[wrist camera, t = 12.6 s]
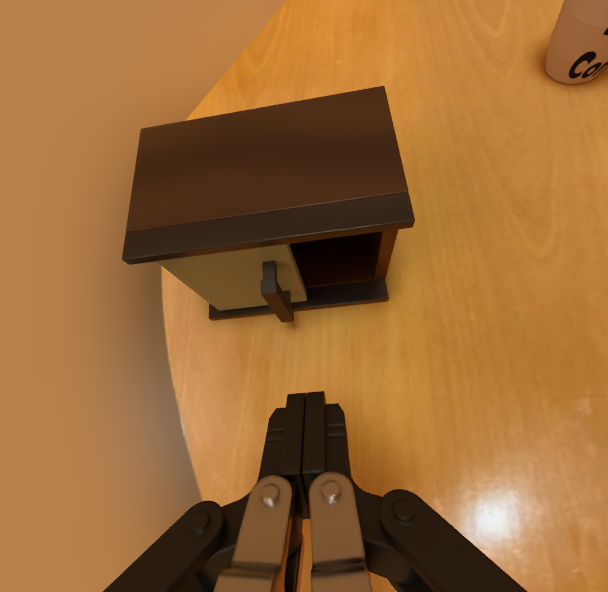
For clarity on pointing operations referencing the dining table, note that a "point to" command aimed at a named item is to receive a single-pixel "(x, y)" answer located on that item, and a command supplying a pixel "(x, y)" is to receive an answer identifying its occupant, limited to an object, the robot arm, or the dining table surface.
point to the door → (244, 278)
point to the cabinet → (278, 193)
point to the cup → (579, 42)
